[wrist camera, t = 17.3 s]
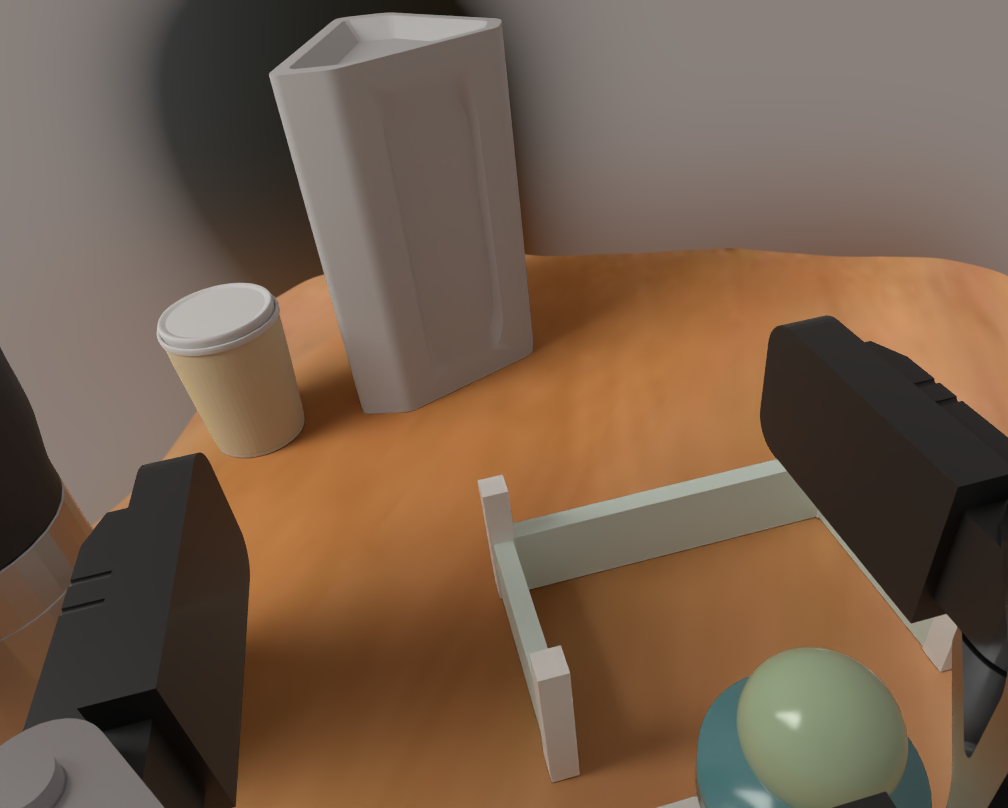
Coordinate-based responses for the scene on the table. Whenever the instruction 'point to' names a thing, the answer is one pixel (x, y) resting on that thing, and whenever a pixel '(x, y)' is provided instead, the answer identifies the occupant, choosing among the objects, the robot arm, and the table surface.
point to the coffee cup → (235, 366)
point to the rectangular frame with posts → (629, 539)
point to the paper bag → (411, 199)
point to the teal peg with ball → (807, 738)
